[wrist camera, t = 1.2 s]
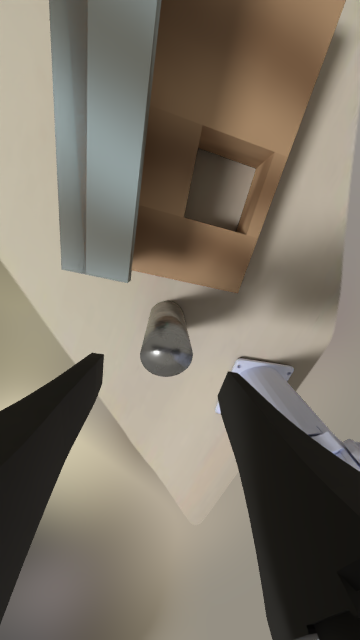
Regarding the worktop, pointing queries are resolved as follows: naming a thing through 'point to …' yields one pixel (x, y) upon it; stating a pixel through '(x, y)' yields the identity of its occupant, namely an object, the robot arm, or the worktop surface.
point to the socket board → (174, 124)
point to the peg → (166, 341)
